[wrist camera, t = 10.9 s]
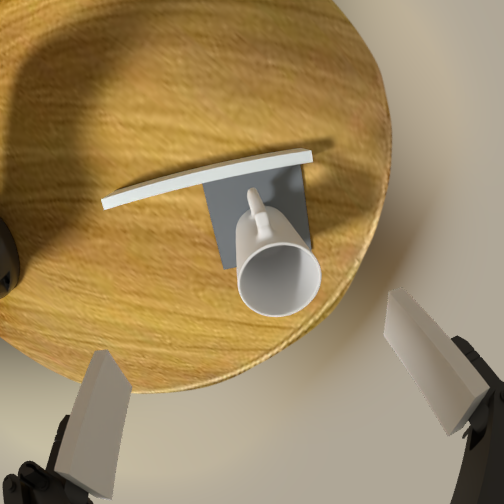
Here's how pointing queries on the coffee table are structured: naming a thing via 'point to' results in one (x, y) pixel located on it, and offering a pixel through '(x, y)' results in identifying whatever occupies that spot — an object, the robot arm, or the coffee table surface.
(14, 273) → the robot arm
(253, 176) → the mat
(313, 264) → the mug
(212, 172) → the wall
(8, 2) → the coffee table surface
